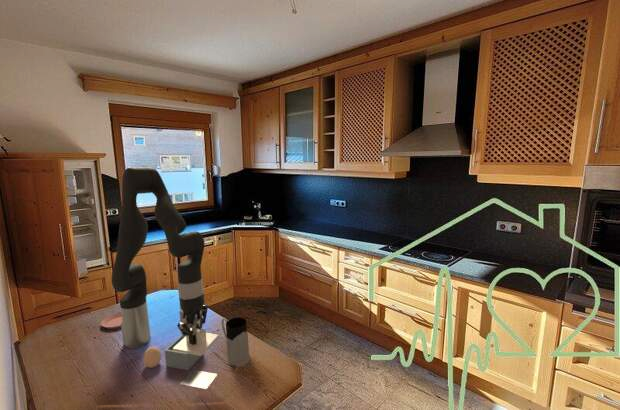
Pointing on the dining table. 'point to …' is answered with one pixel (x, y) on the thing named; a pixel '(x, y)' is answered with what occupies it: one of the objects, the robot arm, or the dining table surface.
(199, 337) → the lid
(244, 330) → the glass holder
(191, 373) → the slate trivet
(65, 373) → the dining table surface
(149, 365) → the egg
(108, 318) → the plate
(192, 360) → the tin box
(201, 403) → the dining table surface
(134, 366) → the dining table surface
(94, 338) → the dining table surface
